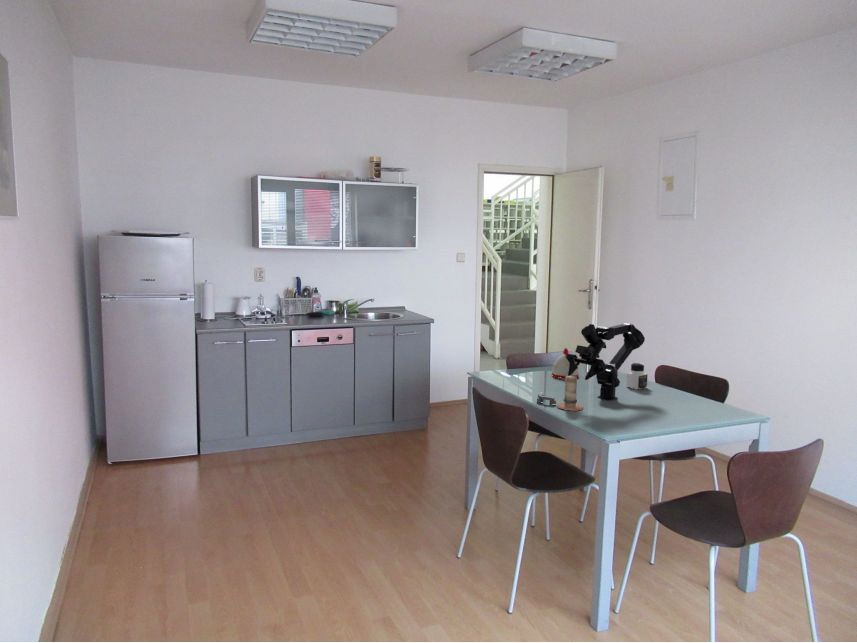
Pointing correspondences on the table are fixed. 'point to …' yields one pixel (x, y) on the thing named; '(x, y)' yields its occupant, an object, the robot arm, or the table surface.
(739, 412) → the table surface
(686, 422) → the table surface
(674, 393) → the table surface
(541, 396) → the grey angled bracket
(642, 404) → the table surface
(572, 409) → the terracotta coaster
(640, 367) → the medicine bottle
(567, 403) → the birch ring post
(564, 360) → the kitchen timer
